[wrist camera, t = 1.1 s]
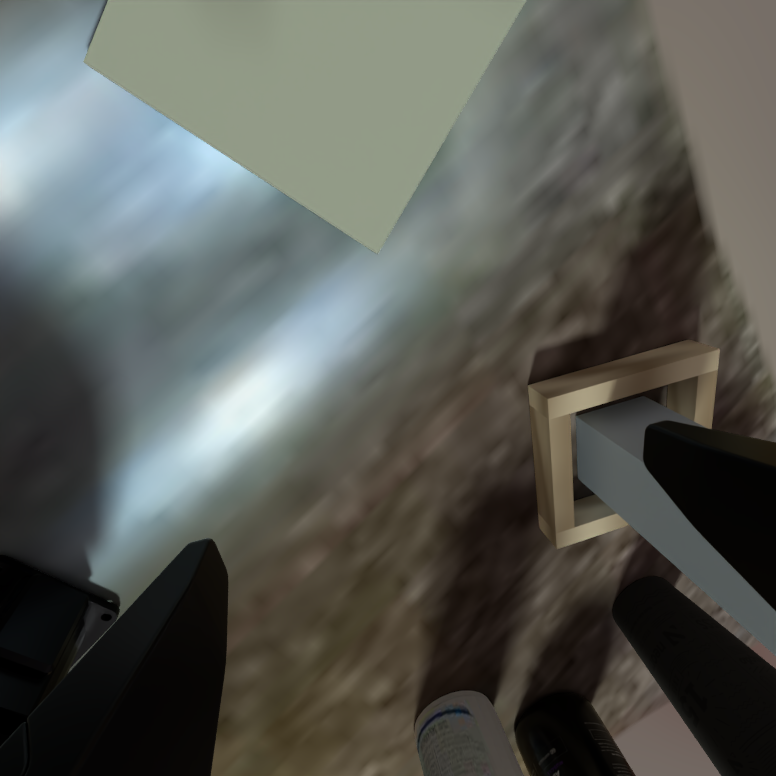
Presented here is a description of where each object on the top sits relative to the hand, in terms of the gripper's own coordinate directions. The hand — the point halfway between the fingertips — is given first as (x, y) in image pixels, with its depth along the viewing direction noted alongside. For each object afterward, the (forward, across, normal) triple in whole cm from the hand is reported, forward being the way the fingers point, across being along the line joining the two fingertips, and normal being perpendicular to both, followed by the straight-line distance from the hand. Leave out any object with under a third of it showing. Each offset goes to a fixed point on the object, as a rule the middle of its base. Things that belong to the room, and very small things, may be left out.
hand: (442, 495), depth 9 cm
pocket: (+14, -14, +10) cm, 22 cm away
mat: (+14, -1, -12) cm, 18 cm away
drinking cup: (+14, -16, +25) cm, 33 cm away
